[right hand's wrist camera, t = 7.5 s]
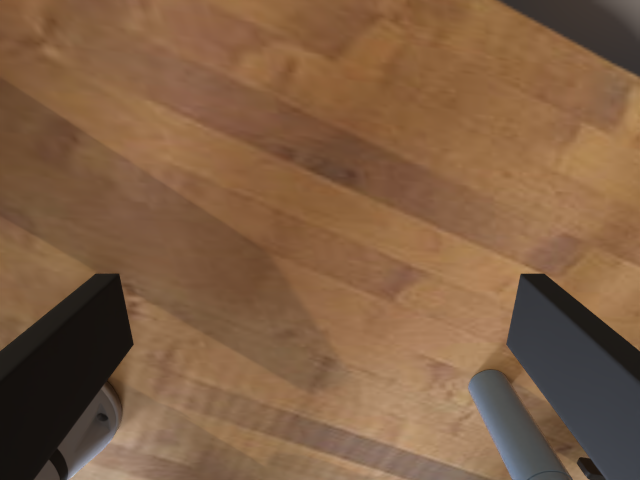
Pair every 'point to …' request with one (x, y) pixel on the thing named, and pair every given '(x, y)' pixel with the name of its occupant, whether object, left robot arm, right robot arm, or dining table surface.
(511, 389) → the bottle
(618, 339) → the right robot arm
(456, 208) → the dining table surface
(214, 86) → the dining table surface
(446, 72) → the dining table surface
